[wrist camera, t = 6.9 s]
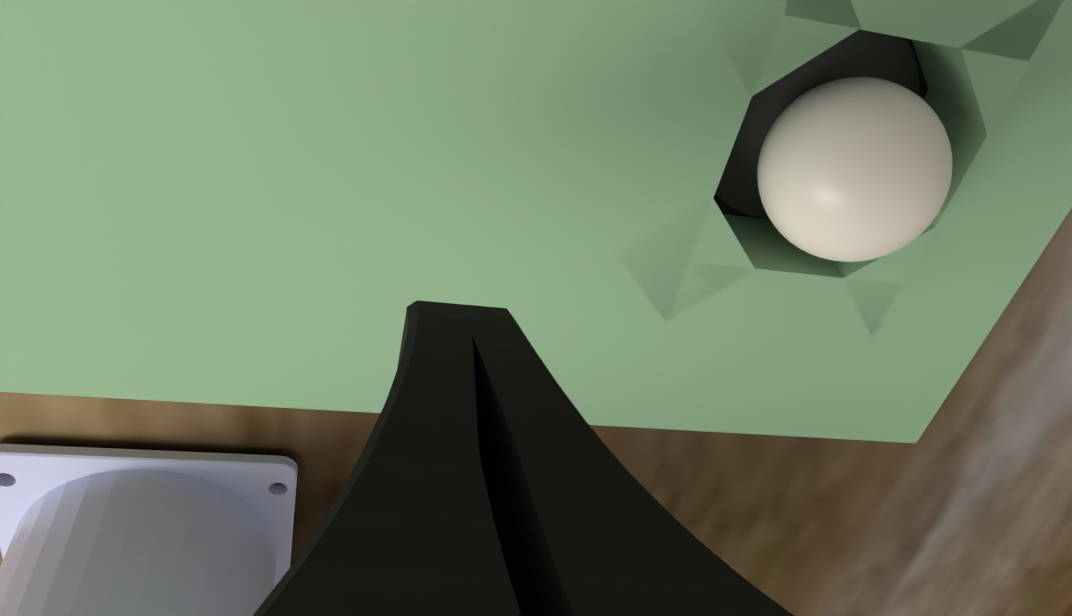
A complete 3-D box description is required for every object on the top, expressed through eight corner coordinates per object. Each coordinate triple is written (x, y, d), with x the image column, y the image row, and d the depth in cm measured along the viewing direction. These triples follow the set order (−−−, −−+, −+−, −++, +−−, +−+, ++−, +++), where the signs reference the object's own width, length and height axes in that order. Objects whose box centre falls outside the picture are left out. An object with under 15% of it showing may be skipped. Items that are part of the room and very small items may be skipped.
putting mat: (875, 384, 26) (916, 443, 24) (7, 319, 20) (-34, 389, 18) (1225, -207, 17) (1335, -191, 15) (-163, -630, 11) (-279, -693, 9)
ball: (747, 190, 22) (909, 213, 21) (737, 281, 19) (927, 312, 18) (779, 38, 19) (966, 59, 18) (774, 115, 16) (997, 144, 15)
